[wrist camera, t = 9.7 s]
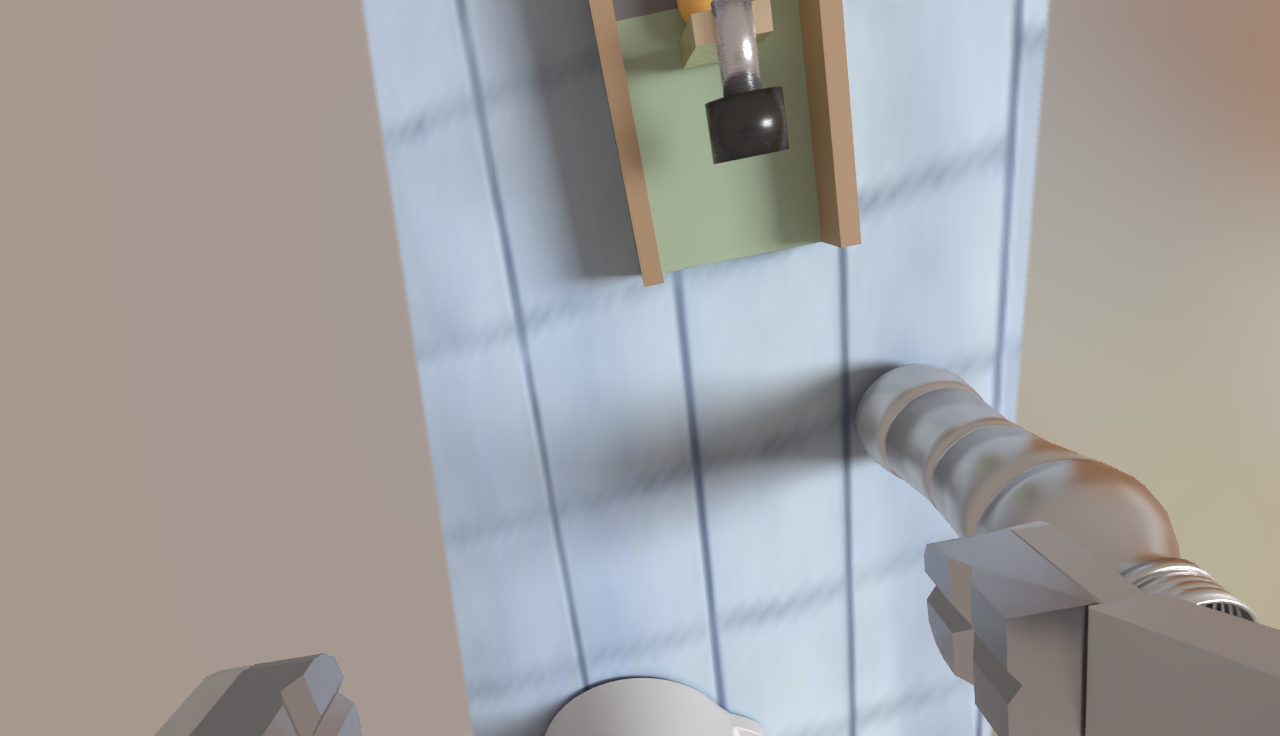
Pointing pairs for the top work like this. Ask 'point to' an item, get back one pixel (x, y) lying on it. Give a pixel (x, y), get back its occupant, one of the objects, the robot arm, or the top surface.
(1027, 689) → the robot arm
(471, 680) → the top surface
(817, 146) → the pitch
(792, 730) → the top surface
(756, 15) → the glass stem black base
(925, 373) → the plastic bottle
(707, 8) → the ball
